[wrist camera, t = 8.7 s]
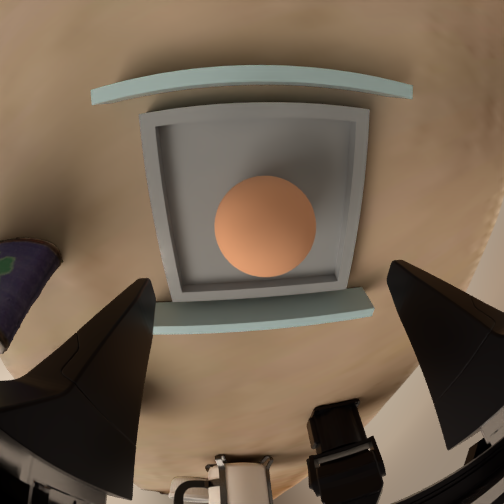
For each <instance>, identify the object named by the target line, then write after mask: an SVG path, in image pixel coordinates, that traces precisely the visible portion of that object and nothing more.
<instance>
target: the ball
mask: <svg viewBox="0 0 504 504" xmlns="http://www.w3.org/2000/svg"><path fill="white" fill-rule="evenodd" d="M214 228H215V237H216V241H217V244H218V246H219V248H220V250H221V252H222V254H223V255H224V257H225V258H226V259H227V260H228V261H229V262H230V263H231V264H232V265H233V266H234V267H236V268H237V269H239V270H240V271H242V272H244V273H246V274H249V275H252V276H257V277H274V276H278V275H282V274H285V273H287V272H289V271H291V270H292V269H294V268H295V267H297V266H298V265H299V264H300V263H301V262H302V261H303V260H304V259H305V258H306V256H307V255H308V253H309V252H310V250H311V248H312V245H313V243H314V239H315V235H316V218H315V214H314V210H313V208H312V205H311V203H310V201H309V200H308V198H307V197H306V195H305V194H304V193H303V192H302V191H301V190H300V189H299V188H298V187H297V186H295V185H294V184H292V183H291V182H289V181H287V180H285V179H282V178H279V177H275V176H256V177H251V178H248V179H246V180H243V181H241V182H240V183H238V184H236V185H235V186H234V187H232V188H231V189H230V190H229V191H228V192H227V194H226V195H225V196H224V197H223V199H222V201H221V202H220V204H219V206H218V209H217V212H216V216H215V223H214Z"/></svg>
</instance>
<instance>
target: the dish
mask: <svg viewBox="0 0 504 504" xmlns="http://www.w3.org/2000/svg"><path fill="white" fill-rule="evenodd" d="M369 111H370V109H364V108H356V107H347V106H338V105H327V104H312V103H289V102H250V103H227V104H213V105H201V106H192V107H183V108H175V109H168V110H161V111H155V112H149V113H143V114H139V121H140V131H141V140H142V148H143V156H144V164H145V171H146V177H147V184H148V190H149V196H150V202H151V208H152V213H153V218H154V224H155V229H156V234H157V238H158V243H159V248H160V252H161V257H162V261H163V266H164V270H165V274H166V278H167V282H168V286H169V290H170V294H171V298H172V302H191V301H212V300H229V299H244V298H258V297H271V296H283V295H295V294H305V293H315V292H325V291H335V290H343V289H346V288H347V284H348V279H349V274H350V269H351V264H352V259H353V254H354V248H355V243H356V237H357V231H358V225H359V218H360V211H361V204H362V196H363V188H364V179H365V170H366V159H367V147H368V132H369ZM256 176H275V177H279V178H282V179H285V180H287V181H289V182H291V183H292V184H294V185H295V186H297V187H298V188H299V189H300V190H301V191H302V192H303V193H304V194H305V195H306V197H307V198H308V200H309V201H310V203H311V205H312V208H313V210H314V214H315V218H316V235H315V239H314V243H313V245H312V248H311V250H310V252H309V253H308V255H307V256H306V258H305V259H304V260H303V261H302V262H301V263H300V264H299V265H298V266H297V267H295V268H294V269H292V270H291V271H289V272H287V273H285V274H282V275H278V276H274V277H257V276H252V275H249V274H246V273H244V272H242V271H240V270H239V269H237V268H236V267H234V266H233V265H232V264H231V263H230V262H229V261H228V260H227V259H226V258H225V257H224V255H223V254H222V252H221V250H220V248H219V246H218V244H217V241H216V237H215V228H214V223H215V216H216V212H217V209H218V206H219V204H220V202H221V201H222V199H223V197H224V196H225V195H226V194H227V192H228V191H229V190H230V189H231V188H232V187H234V186H235V185H236V184H238V183H240V182H241V181H243V180H246V179H248V178H251V177H256Z"/></svg>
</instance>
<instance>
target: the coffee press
mask: <svg viewBox="0 0 504 504" xmlns="http://www.w3.org/2000/svg"><path fill="white" fill-rule="evenodd" d="M268 458H270V461H269V462H268V464H267V466H264V465H262V463H264V462H265V461H266V460H267V459H268ZM215 461H216V463H217V465H216V466H211V465H207V466H206V467H205V469H206V471H207V472H208V481H207V480H206V481H204V480H190V481H186V482H183V483H181V484H180V485H179V486H178V487H177V489H176V491H175V494H174V504H183V498H184V493H185V492H186V490H188V489H189V488H207V489H208V492H209V504H273V499H272V491H271V483H270V475H269V468H270V466H271V464H272V462H273V458H272V457H270V456H265V457H264V458H263V459H262V460H261V461H260V462H258V463H244V462H241V463H230V462H228V461H227V460H226V458H225V456H224V455H216V456H215ZM210 467H212V468H210ZM209 468H210V470H209Z"/></svg>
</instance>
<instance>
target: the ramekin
mask: <svg viewBox="0 0 504 504" xmlns="http://www.w3.org/2000/svg"><path fill="white" fill-rule="evenodd" d="M190 480H204V481H206V480H207V481H208V479H203V478H195V477H175V478H174V479H173V480H172V482H171V487H170V493H169V498H171V499H174V494H175V491H176V489H177V487H178V486H179V485H180V484H181V483H183V482H186V481H190ZM183 501H188V502H201V503H209V492H208V489H207V488H189V489H188V490H186V492H185V493H184V498H183Z"/></svg>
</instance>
